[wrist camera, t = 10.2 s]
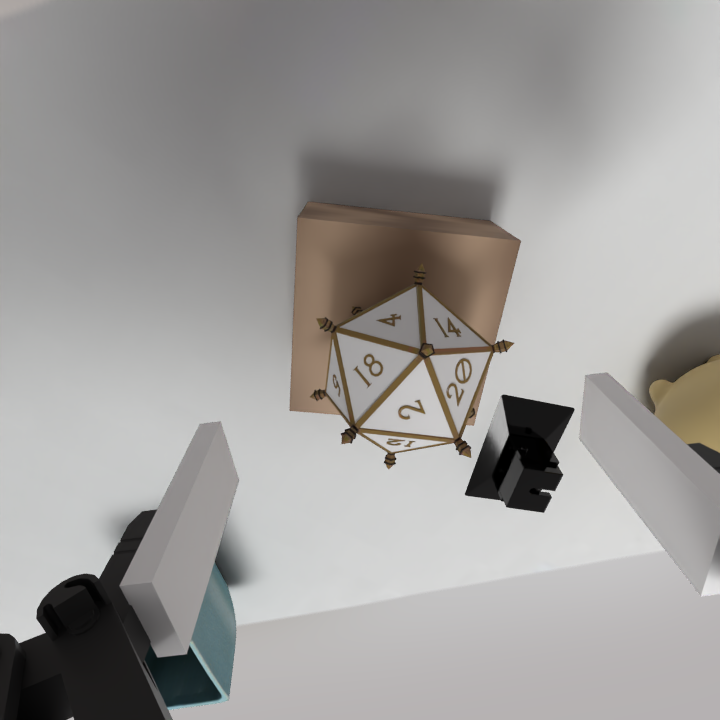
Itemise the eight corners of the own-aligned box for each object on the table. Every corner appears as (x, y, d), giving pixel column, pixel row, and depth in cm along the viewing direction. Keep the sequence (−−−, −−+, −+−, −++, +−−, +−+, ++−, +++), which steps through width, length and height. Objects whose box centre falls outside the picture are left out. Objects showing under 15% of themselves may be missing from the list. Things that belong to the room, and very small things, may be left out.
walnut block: (300, 364, 32) (289, 410, 27) (308, 200, 27) (297, 217, 22) (454, 377, 33) (473, 425, 27) (489, 219, 28) (520, 240, 23)
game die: (383, 284, 27) (420, 190, 18) (492, 380, 27) (593, 338, 17) (278, 395, 26) (253, 357, 16) (392, 500, 25) (440, 529, 15)
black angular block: (527, 513, 39) (548, 559, 35) (445, 502, 38) (456, 546, 34) (588, 391, 34) (620, 427, 30) (493, 374, 33) (514, 409, 29)
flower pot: (122, 545, 39) (63, 650, 31) (219, 526, 39) (183, 630, 31) (165, 609, 43) (122, 719, 35) (254, 594, 42) (231, 702, 34)
